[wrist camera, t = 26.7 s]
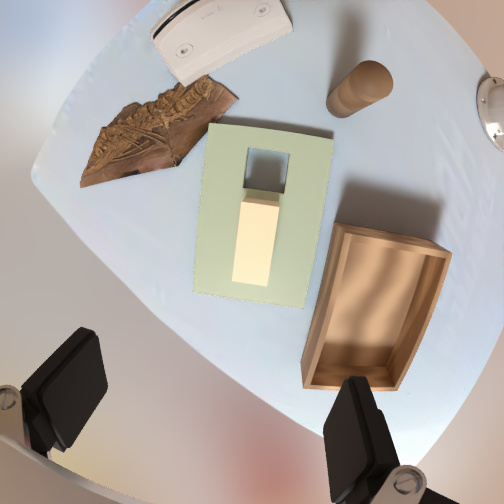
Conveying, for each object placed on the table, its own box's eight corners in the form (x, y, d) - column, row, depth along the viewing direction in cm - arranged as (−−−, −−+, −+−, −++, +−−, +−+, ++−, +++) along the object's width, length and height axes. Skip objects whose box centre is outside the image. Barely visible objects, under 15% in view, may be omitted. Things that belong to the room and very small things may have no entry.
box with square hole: (430, 240, 35) (452, 253, 30) (386, 367, 42) (396, 390, 36) (334, 221, 36) (345, 232, 30) (300, 362, 42) (303, 388, 37)
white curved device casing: (183, 90, 32) (142, 48, 22) (171, 69, 33) (133, 29, 23) (296, 30, 29) (283, -25, 19) (277, 13, 29) (261, -38, 19)
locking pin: (354, 94, 31) (393, 66, 19) (353, 120, 32) (392, 102, 20) (326, 88, 31) (354, 56, 19) (325, 115, 32) (353, 93, 20)
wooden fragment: (223, 61, 31) (221, 59, 30) (253, 135, 34) (253, 134, 33) (69, 146, 35) (65, 146, 34) (91, 211, 38) (87, 212, 37)
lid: (332, 140, 33) (343, 136, 27) (302, 304, 39) (306, 326, 34) (211, 124, 33) (199, 117, 28) (195, 288, 40) (183, 307, 34)
